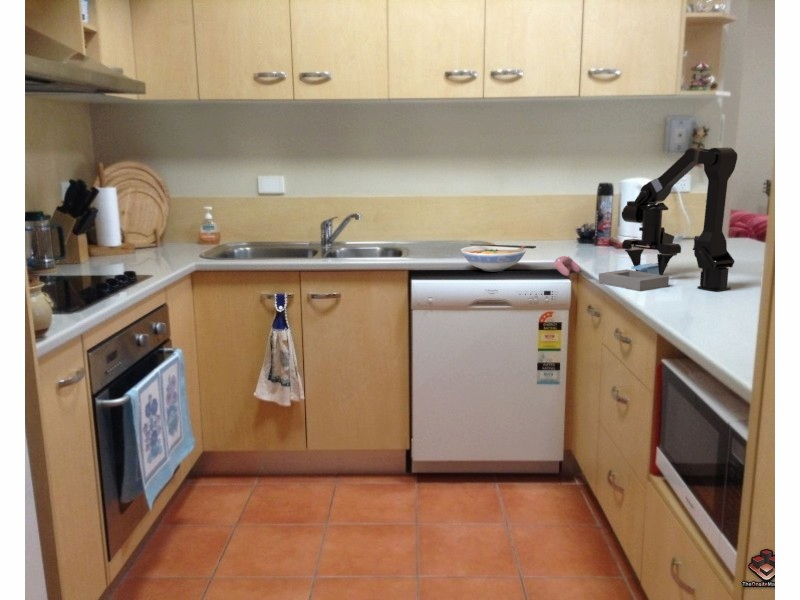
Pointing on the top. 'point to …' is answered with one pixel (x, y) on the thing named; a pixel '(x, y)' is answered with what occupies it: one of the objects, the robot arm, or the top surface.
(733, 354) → the top surface
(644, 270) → the light blue bar
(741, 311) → the top surface
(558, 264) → the video game controller
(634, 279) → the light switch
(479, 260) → the ramen bowl
